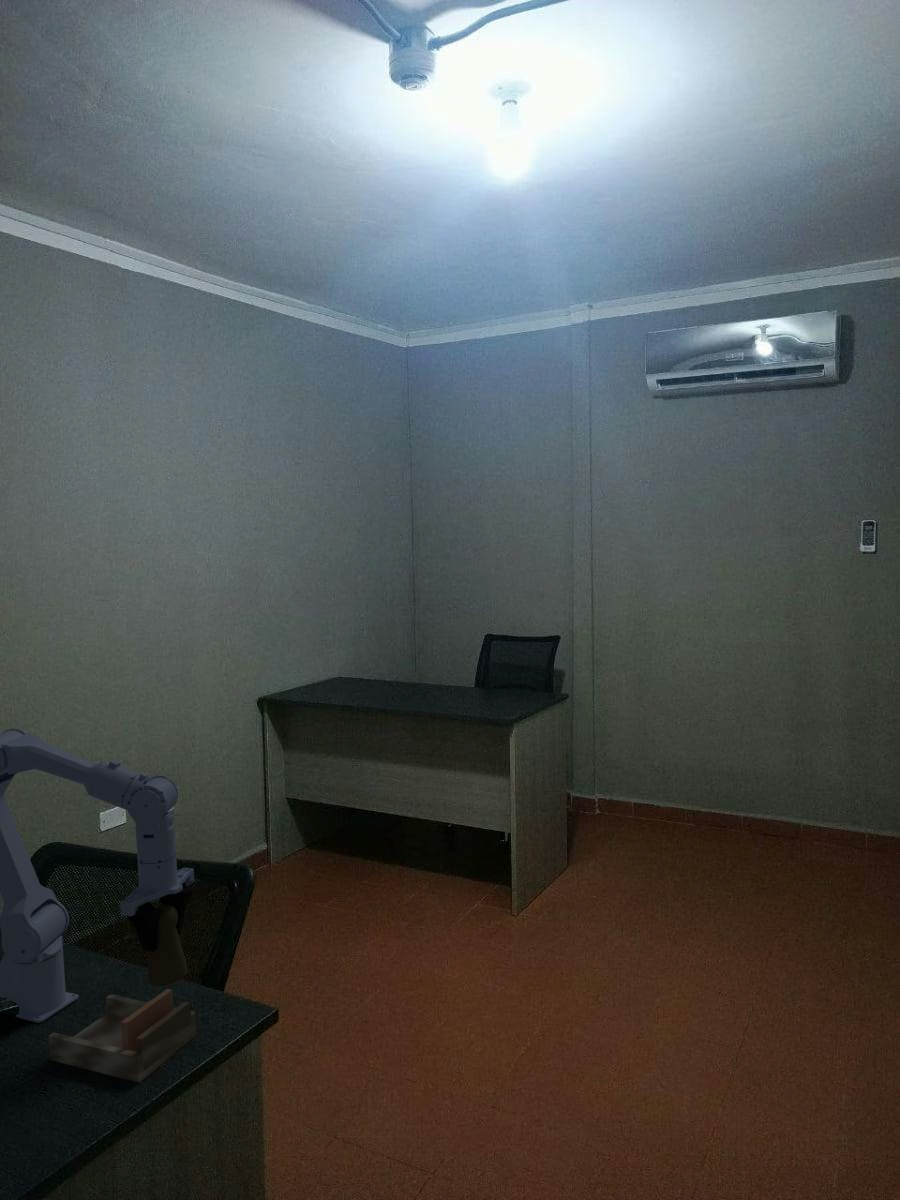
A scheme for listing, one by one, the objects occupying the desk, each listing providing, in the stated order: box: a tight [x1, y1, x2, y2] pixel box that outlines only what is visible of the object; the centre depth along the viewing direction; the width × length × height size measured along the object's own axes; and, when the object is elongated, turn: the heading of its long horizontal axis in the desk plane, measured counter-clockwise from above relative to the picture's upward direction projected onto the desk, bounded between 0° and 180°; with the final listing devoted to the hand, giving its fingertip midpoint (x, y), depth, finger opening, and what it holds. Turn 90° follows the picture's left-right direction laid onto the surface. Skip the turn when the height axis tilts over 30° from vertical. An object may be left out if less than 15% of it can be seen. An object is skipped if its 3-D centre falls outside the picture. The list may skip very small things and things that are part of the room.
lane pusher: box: [121, 988, 175, 1052], centre depth 125 cm, size 1×9×6 cm, turn 158°
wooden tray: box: [48, 993, 198, 1083], centre depth 126 cm, size 16×12×6 cm
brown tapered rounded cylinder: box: [147, 904, 189, 987], centre depth 137 cm, size 6×6×11 cm
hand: (161, 942), depth 137 cm, fingers closed on brown tapered rounded cylinder, 5 cm apart
